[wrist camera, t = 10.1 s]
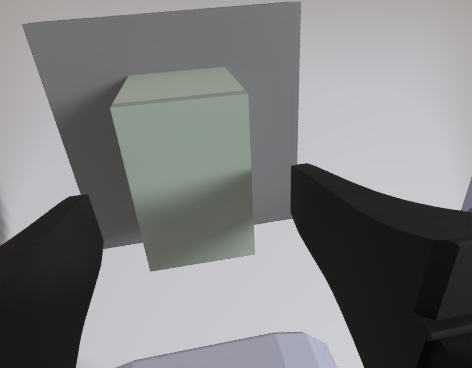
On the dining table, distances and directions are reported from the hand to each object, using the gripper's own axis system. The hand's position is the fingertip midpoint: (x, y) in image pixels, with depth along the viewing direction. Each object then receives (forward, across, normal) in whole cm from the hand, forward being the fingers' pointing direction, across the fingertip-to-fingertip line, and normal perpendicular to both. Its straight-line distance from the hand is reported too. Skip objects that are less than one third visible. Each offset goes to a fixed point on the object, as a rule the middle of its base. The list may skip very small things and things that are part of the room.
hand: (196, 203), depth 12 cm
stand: (+8, 0, 0) cm, 8 cm away
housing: (+6, 0, 0) cm, 6 cm away
